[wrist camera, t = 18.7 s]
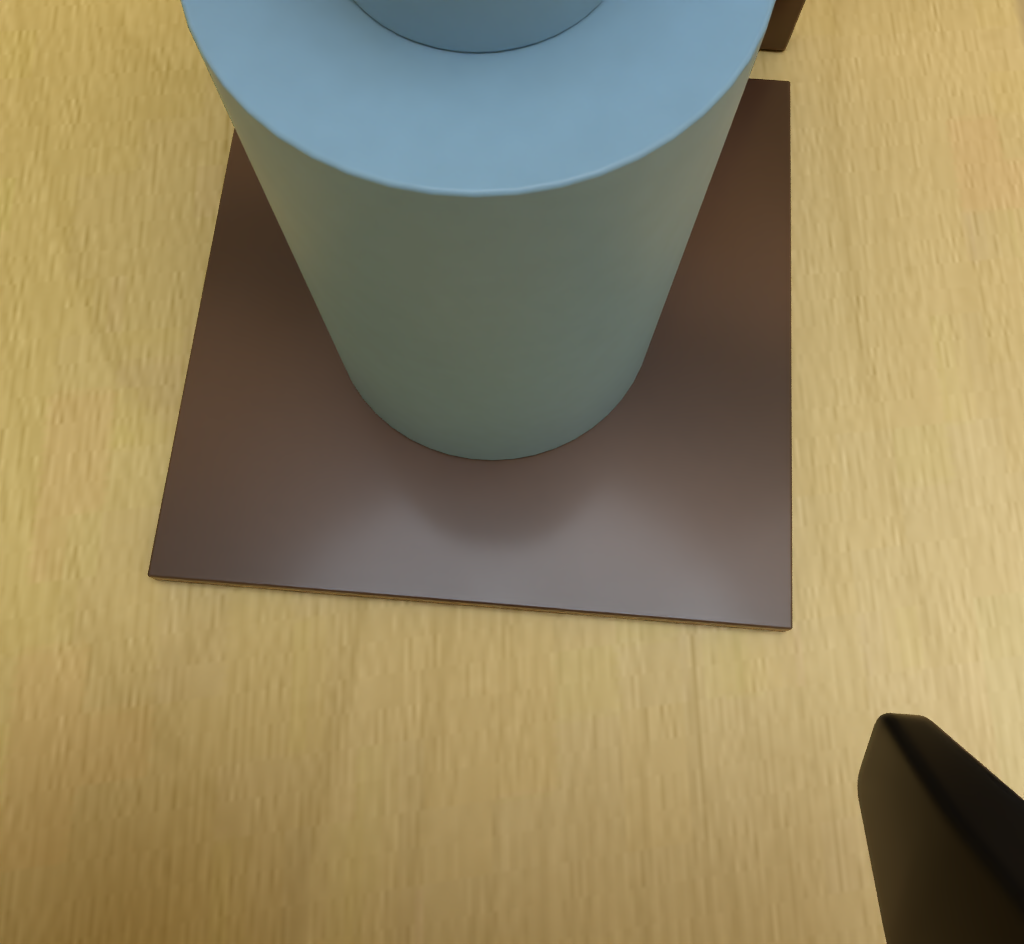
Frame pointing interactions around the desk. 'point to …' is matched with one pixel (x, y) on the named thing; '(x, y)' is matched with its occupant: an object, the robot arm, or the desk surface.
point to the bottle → (484, 189)
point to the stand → (511, 482)
